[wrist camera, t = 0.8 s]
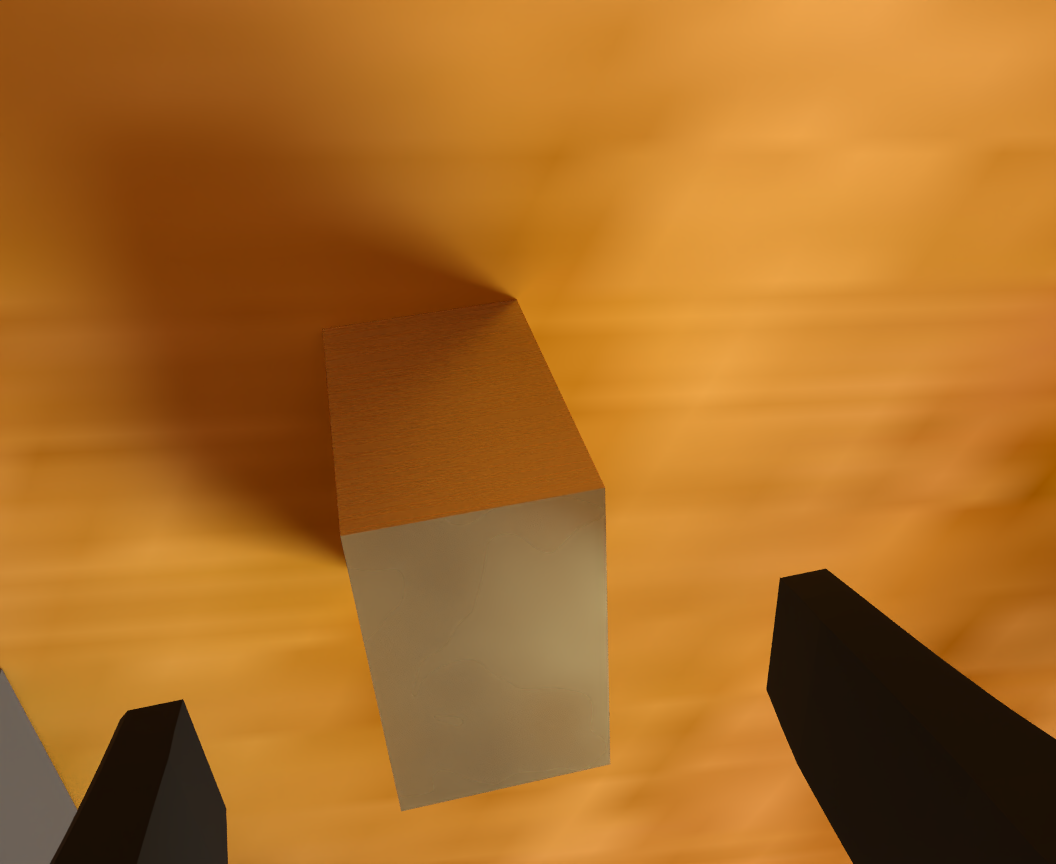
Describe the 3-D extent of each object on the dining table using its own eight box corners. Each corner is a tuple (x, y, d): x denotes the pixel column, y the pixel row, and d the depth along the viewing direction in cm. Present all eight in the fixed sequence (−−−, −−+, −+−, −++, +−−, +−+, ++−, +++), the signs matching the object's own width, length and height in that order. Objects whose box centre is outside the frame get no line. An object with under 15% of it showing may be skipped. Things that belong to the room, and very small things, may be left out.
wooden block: (534, 541, 18) (609, 764, 14) (371, 572, 17) (400, 810, 13) (515, 298, 15) (605, 488, 11) (322, 327, 15) (340, 536, 11)
